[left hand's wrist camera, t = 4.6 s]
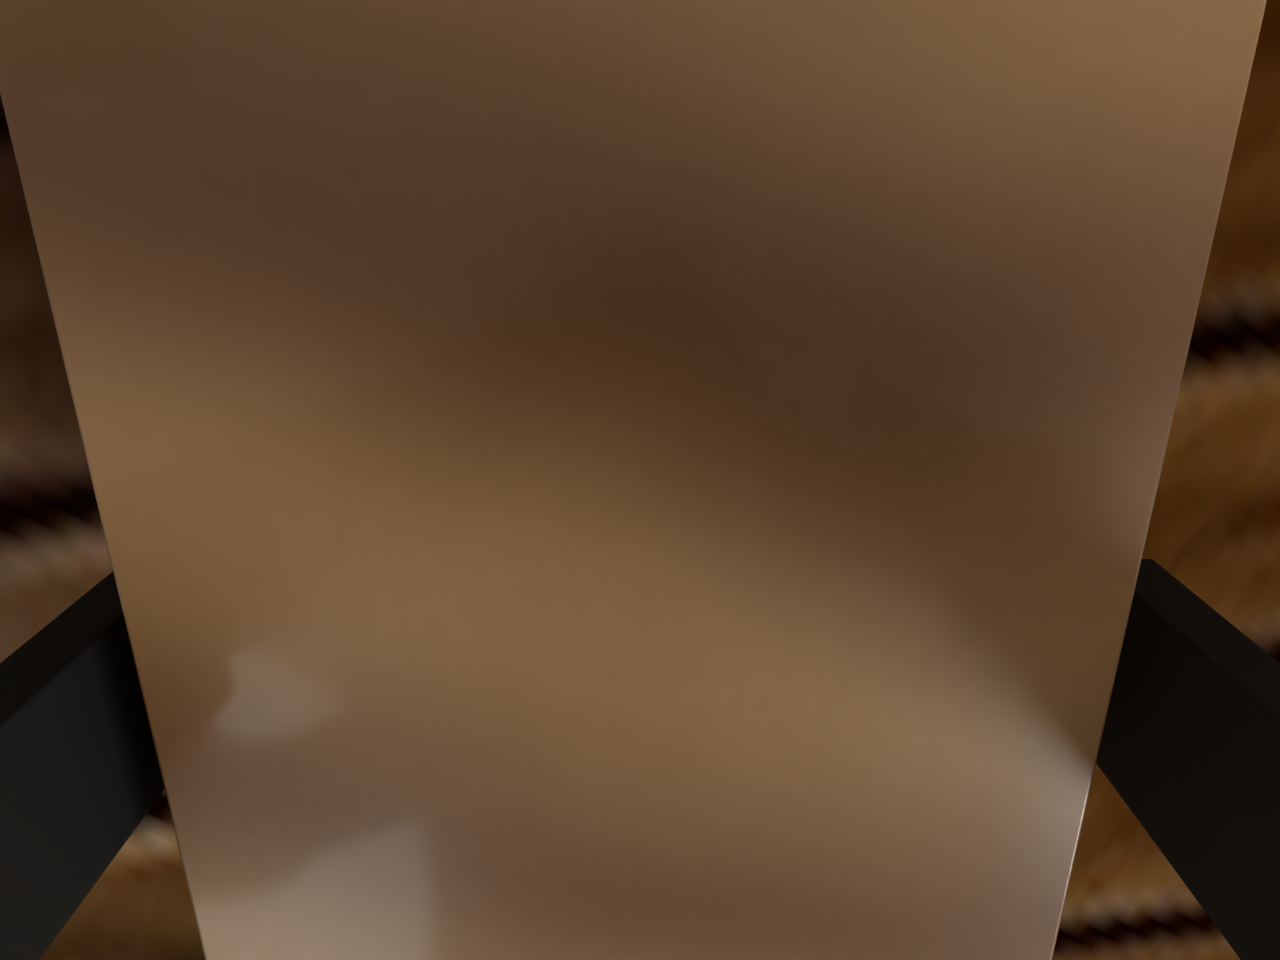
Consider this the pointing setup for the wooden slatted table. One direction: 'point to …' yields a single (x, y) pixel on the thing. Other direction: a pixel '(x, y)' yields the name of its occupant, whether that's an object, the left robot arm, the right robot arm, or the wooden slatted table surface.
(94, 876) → the left robot arm
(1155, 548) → the wooden slatted table surface
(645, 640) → the cabinet
